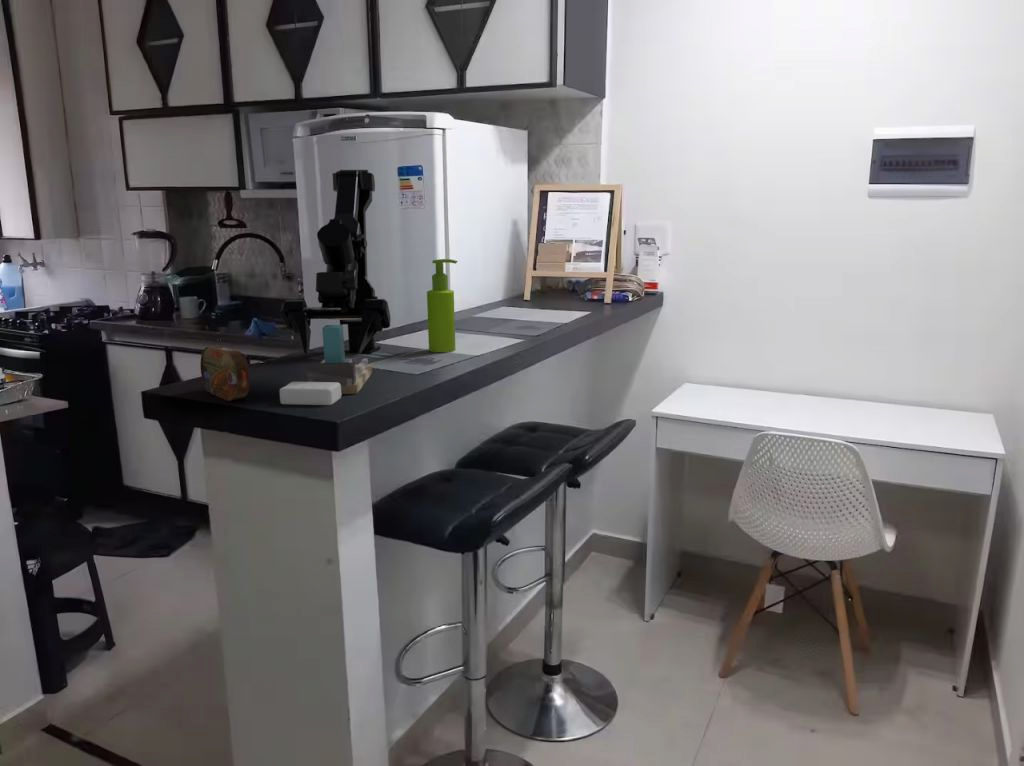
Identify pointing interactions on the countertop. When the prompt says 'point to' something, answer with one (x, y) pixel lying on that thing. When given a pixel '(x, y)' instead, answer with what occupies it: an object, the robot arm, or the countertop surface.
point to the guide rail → (340, 374)
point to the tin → (225, 373)
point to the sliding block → (334, 344)
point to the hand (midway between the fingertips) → (332, 353)
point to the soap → (310, 393)
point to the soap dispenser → (441, 311)
